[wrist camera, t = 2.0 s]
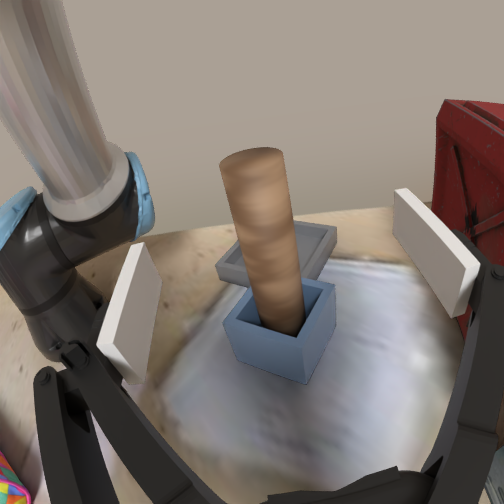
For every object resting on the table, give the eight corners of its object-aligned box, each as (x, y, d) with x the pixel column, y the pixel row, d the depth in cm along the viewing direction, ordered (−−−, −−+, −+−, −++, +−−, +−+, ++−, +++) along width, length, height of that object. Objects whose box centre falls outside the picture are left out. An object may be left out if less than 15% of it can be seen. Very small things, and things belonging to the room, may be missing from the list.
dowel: (258, 348, 37) (206, 171, 24) (277, 318, 40) (240, 147, 27) (296, 360, 34) (263, 173, 21) (314, 328, 37) (293, 147, 25)
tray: (219, 279, 50) (214, 265, 48) (263, 230, 59) (260, 215, 57) (303, 301, 43) (301, 285, 41) (337, 242, 52) (336, 226, 50)
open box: (237, 360, 37) (222, 322, 33) (272, 308, 43) (263, 268, 39) (306, 384, 33) (301, 348, 28) (335, 325, 38) (335, 284, 34)
